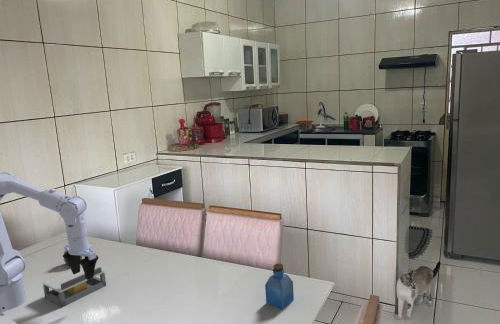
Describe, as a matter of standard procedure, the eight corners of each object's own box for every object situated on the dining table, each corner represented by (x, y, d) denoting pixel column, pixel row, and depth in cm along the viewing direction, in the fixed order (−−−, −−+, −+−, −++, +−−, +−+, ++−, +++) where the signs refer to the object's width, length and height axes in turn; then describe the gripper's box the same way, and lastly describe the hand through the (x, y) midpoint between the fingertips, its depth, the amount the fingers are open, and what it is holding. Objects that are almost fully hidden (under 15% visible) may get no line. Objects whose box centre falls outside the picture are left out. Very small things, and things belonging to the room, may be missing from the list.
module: (75, 297, 130) (73, 284, 129) (68, 293, 132) (66, 281, 131) (87, 291, 133) (85, 278, 132) (80, 288, 136) (78, 275, 135)
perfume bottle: (277, 294, 126) (275, 259, 123) (293, 300, 122) (292, 264, 120) (266, 303, 121) (264, 267, 119) (282, 309, 117) (280, 272, 115)
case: (62, 309, 124) (60, 293, 123) (45, 300, 130) (42, 285, 129) (106, 287, 137) (104, 273, 136) (88, 280, 143) (86, 266, 142)
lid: (60, 292, 123) (59, 286, 122) (42, 284, 129) (41, 278, 129) (104, 272, 136) (103, 266, 135) (86, 265, 142) (85, 260, 142)
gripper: (102, 235, 121) (107, 275, 124) (76, 228, 129) (81, 265, 132) (81, 243, 116) (87, 285, 118) (55, 235, 124) (62, 274, 126)
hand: (83, 275), depth 125 cm, fingers open, 7 cm apart
